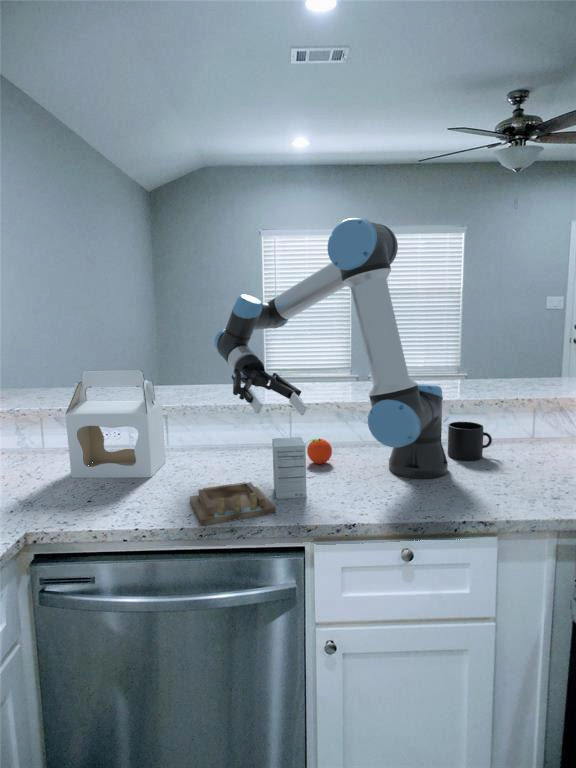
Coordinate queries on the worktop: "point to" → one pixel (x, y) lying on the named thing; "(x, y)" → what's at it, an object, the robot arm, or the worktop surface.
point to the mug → (466, 441)
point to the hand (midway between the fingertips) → (283, 409)
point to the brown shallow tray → (230, 503)
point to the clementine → (319, 451)
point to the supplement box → (289, 467)
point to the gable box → (113, 414)
